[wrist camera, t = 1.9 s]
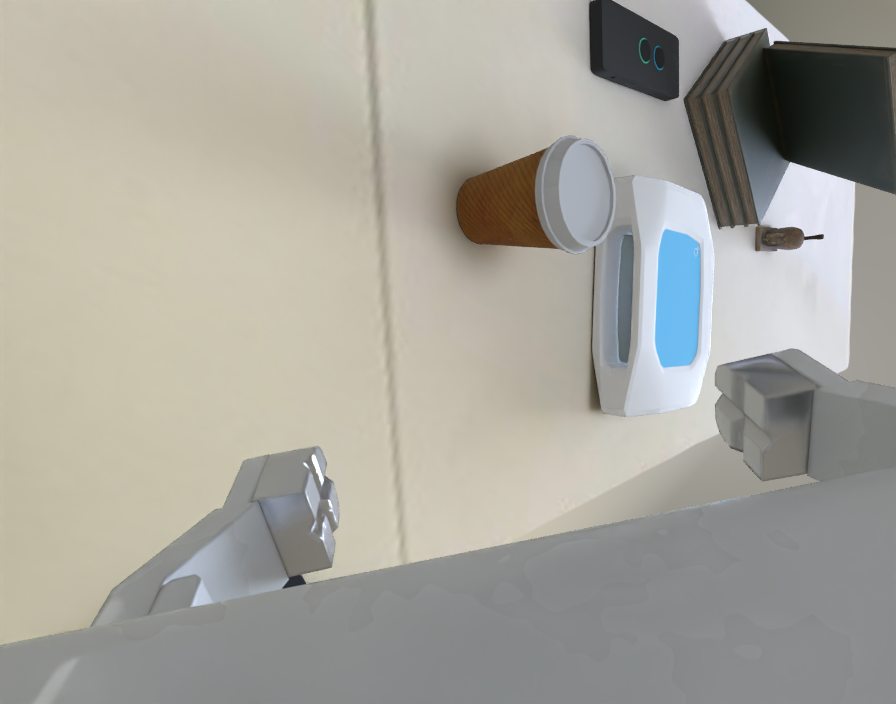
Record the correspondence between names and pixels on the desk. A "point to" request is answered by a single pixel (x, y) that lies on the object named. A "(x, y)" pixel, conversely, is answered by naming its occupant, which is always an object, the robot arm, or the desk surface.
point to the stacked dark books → (791, 119)
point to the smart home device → (633, 51)
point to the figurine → (780, 238)
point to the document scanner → (654, 299)
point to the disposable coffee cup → (543, 199)
